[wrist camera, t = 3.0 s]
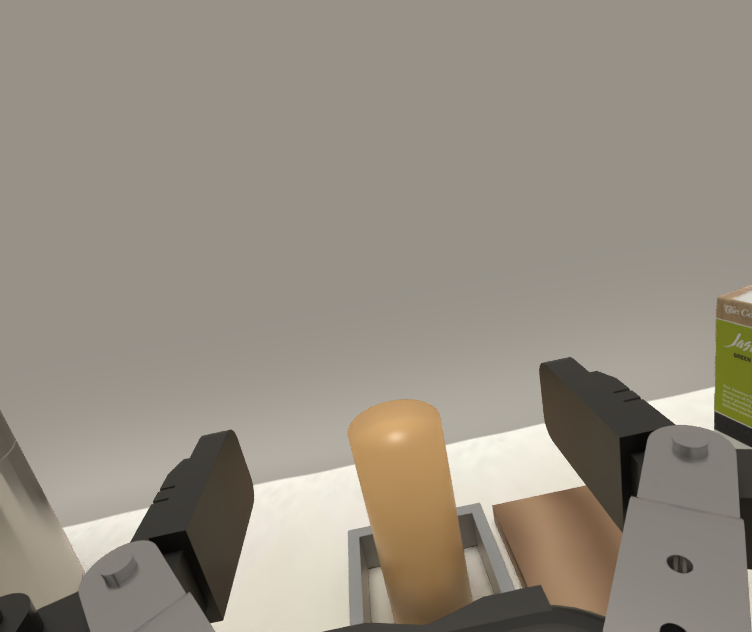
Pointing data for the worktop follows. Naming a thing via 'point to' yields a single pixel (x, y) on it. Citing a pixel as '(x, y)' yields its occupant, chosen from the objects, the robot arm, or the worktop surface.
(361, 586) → the bin
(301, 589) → the worktop surface
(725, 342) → the tea box
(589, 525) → the pad
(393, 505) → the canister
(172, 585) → the robot arm
